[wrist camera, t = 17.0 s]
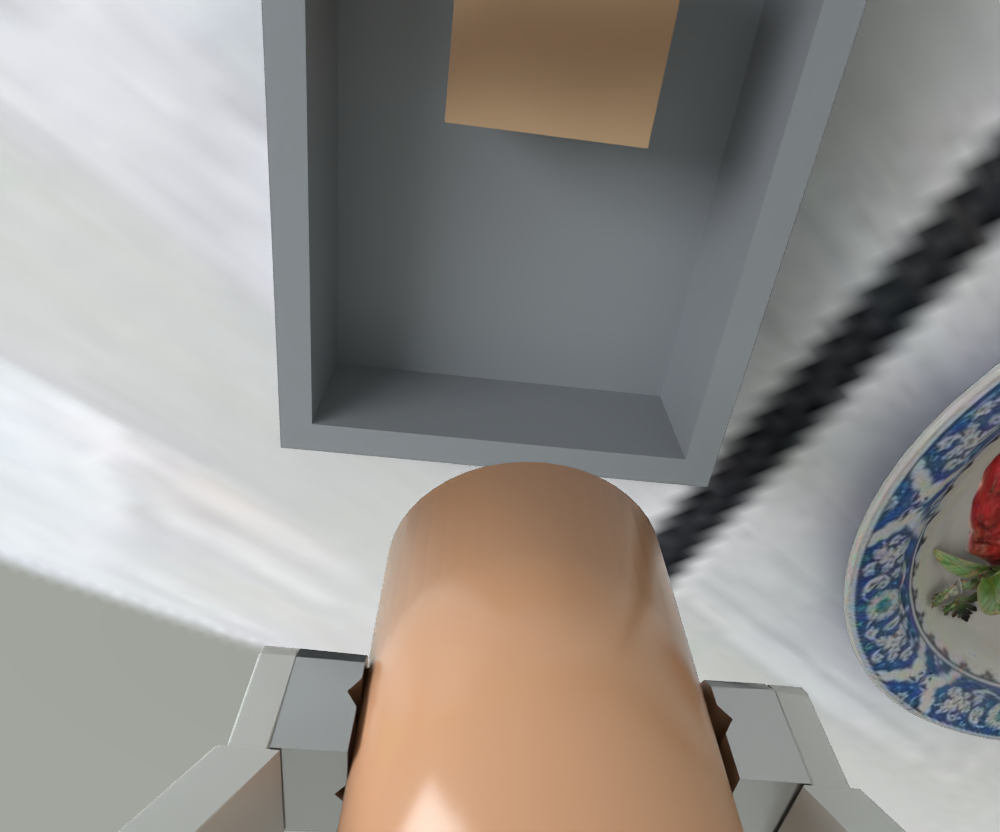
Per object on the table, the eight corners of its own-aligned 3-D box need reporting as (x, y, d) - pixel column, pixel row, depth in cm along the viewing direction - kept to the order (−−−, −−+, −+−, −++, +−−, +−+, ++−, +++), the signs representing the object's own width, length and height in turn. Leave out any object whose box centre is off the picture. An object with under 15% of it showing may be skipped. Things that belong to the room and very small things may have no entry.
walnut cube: (471, -110, 19) (464, -135, 15) (655, -82, 20) (701, -99, 15) (454, 94, 22) (444, 122, 17) (617, 115, 22) (647, 148, 18)
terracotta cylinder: (393, 448, 12) (289, 924, 6) (691, 476, 12) (882, 954, 6) (382, 657, 14) (303, 1139, 8) (630, 676, 15) (722, 1152, 9)
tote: (304, -254, 18) (246, -326, 14) (838, -170, 19) (937, -213, 15) (314, 374, 28) (281, 447, 23) (674, 410, 28) (707, 486, 24)
